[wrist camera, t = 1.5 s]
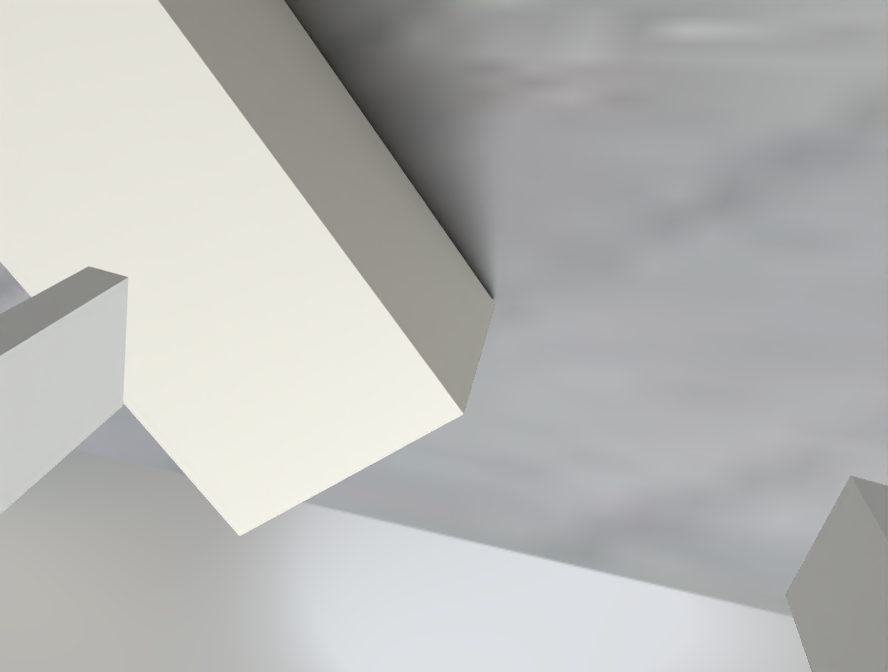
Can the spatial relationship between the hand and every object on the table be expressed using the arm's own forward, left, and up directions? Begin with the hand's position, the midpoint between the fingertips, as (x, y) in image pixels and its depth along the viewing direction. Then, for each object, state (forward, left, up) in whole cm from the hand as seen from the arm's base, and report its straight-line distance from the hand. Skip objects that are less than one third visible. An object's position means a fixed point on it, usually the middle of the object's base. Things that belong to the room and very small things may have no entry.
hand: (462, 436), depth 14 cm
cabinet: (-7, -10, -23) cm, 26 cm away
